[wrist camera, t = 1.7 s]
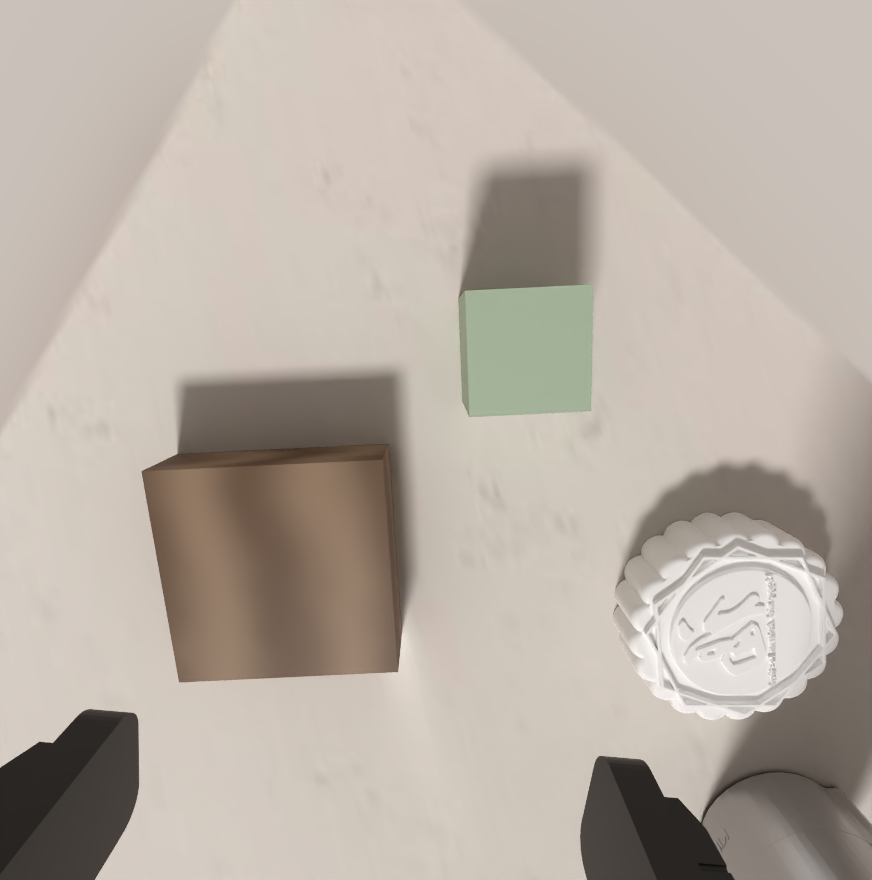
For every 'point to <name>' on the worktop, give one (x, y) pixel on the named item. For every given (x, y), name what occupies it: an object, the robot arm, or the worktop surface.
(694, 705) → the mooncake
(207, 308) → the worktop surface
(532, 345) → the sage block
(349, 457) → the walnut block
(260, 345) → the worktop surface
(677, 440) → the worktop surface
